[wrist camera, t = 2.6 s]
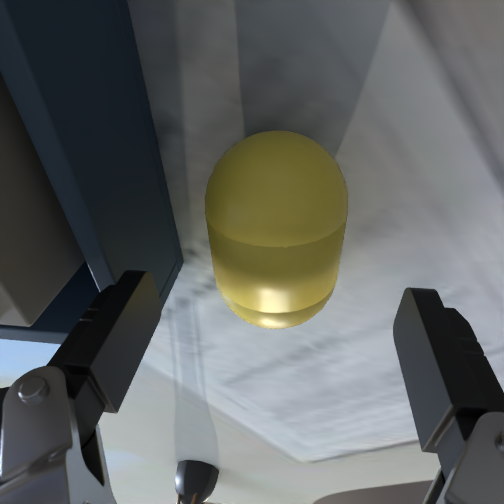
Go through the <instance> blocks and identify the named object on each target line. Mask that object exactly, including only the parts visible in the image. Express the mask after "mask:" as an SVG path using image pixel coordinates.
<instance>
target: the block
mask: <svg viewBox="0 0 504 504" xmlns="http://www.w3.org/2000/svg"><path fill="white" fill-rule="evenodd" d="M84 261H85V258H84V256H83V253H82V251H81V249H80V247H79V245H78V242H77V240H76V238H75V236H74V234H73V231H72V229H71V227H70V225H69V222H68V220H67V218H66V216H65V214H64V211H63V209H62V207H61V205H60V202H59V200H58V198H57V196H56V194H55V191H54V189H53V187H52V185H51V183H50V180H49V178H48V176H47V174H46V171H45V169H44V167H43V165H42V163H41V160H40V158H39V156H38V154H37V152H36V149H35V147H34V145H33V143H32V140H31V138H30V136H29V134H28V132H27V129H26V127H25V125H24V123H23V121H22V118H21V116H20V114H19V112H18V109H17V107H16V105H15V103H14V101H13V98H12V96H11V94H10V92H9V89H8V87H7V85H6V83H5V81H4V78H3V76H2V74H1V72H0V324H4V325H16V326H28V327H29V326H31V325H32V324H33V323H34V322H35V321H36V319H37V318H38V317H39V316H40V315H41V313H42V312H43V311H44V310H45V309H46V307H47V306H48V305H49V304H50V303H51V301H52V300H53V299H54V298H55V296H56V295H57V294H58V293H59V292H60V290H61V289H62V288H63V287H64V286H65V284H66V283H67V282H68V281H69V280H70V278H71V277H72V276H73V275H74V274H75V272H76V271H77V270H78V269H79V268H80V266H81V265H82V264H83V263H84Z"/></svg>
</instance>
